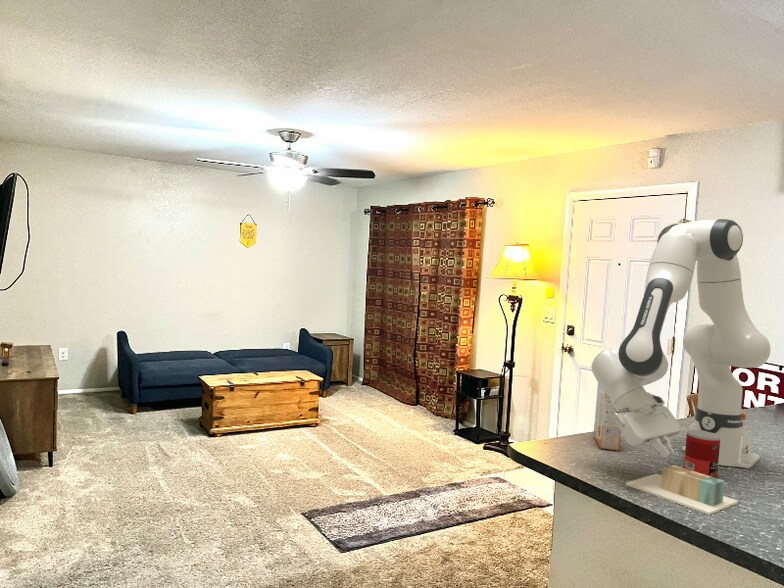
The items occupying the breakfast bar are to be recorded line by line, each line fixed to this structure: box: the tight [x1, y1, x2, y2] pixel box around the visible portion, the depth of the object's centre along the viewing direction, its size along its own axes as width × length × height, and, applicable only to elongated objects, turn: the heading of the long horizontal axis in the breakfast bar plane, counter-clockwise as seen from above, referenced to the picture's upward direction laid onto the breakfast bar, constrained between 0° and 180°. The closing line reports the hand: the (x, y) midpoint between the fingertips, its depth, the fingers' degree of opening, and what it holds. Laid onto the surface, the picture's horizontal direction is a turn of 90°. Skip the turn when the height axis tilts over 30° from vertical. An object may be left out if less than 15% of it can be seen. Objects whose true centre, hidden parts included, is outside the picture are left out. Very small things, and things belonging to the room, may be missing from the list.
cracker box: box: [592, 382, 622, 452], centre depth 179 cm, size 14×6×21 cm, turn 168°
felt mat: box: [625, 473, 739, 516], centre depth 139 cm, size 14×20×1 cm
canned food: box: [683, 430, 720, 478], centre depth 155 cm, size 8×8×11 cm
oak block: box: [661, 464, 725, 506], centre depth 137 cm, size 5×5×12 cm
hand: (669, 455), depth 142 cm, fingers closed
